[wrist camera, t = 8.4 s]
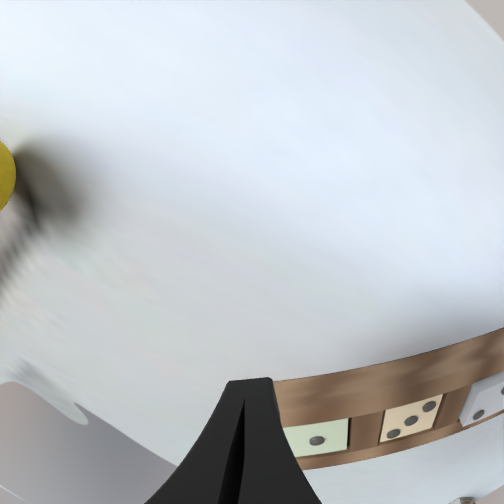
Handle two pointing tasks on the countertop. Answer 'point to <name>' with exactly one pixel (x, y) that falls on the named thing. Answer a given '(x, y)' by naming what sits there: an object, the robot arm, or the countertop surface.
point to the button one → (317, 437)
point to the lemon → (6, 175)
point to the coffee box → (464, 501)
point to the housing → (390, 397)
